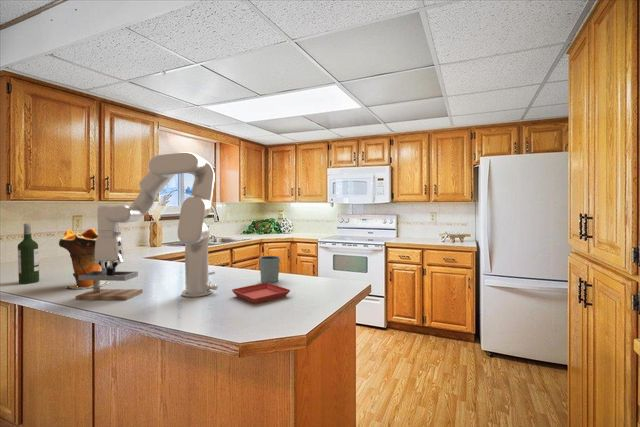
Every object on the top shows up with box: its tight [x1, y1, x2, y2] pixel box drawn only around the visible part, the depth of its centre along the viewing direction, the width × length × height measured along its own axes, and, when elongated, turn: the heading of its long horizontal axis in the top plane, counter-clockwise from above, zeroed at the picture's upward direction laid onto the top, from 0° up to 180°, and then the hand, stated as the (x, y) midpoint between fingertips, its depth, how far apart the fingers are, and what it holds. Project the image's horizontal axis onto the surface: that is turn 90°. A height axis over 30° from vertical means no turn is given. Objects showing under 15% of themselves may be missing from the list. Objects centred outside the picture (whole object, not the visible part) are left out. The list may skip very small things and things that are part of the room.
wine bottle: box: [17, 222, 40, 285], centre depth 170 cm, size 8×8×30 cm
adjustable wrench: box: [209, 270, 216, 276], centre depth 179 cm, size 25×6×2 cm, turn 166°
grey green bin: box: [259, 255, 281, 284], centre depth 168 cm, size 10×10×12 cm
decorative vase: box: [58, 227, 110, 290], centre depth 163 cm, size 21×23×28 cm
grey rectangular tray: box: [78, 265, 139, 282], centre depth 143 cm, size 20×9×5 cm, turn 87°
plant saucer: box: [231, 282, 291, 305], centre depth 140 cm, size 18×18×3 cm
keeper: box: [75, 280, 144, 301], centre depth 143 cm, size 22×11×8 cm, turn 87°
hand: (109, 277), depth 143 cm, fingers closed on grey rectangular tray
